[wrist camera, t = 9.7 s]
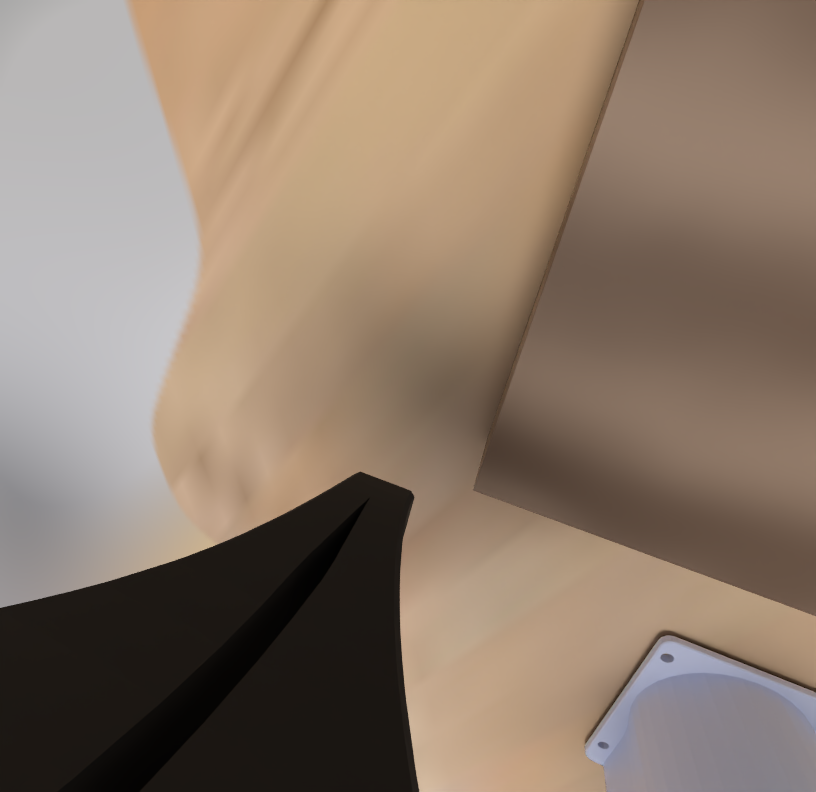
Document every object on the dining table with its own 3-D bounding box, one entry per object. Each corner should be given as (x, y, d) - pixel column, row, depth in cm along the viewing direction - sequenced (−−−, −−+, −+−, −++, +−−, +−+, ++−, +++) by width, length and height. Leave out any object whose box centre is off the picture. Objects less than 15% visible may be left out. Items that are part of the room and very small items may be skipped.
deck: (788, 544, 16) (859, 632, 13) (486, 440, 18) (472, 490, 15) (1194, 26, 10) (1578, -100, 6) (652, -38, 12) (699, -158, 8)
